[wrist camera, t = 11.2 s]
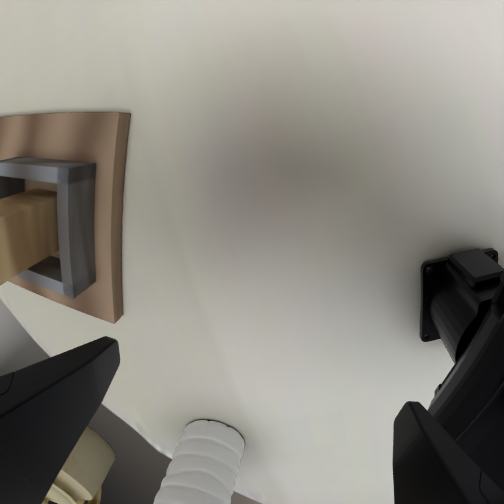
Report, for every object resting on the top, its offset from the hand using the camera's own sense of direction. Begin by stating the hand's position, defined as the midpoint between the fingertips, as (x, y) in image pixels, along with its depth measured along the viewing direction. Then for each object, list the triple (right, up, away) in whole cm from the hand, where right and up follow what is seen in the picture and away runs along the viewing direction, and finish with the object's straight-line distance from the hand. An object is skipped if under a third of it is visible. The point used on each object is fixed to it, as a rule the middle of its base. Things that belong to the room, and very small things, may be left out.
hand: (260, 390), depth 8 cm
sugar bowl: (-24, -25, +27) cm, 44 cm away
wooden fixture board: (-19, +8, +14) cm, 25 cm away
